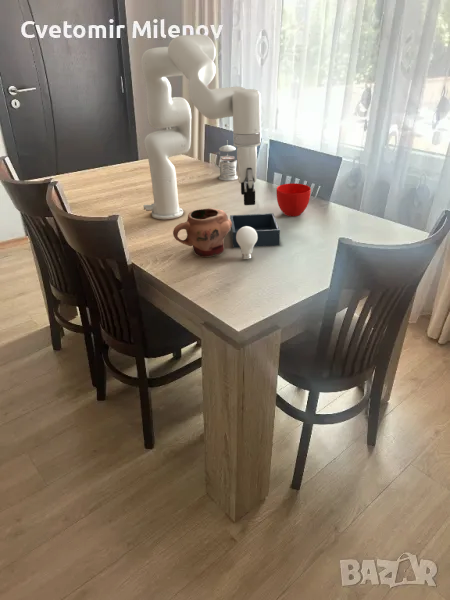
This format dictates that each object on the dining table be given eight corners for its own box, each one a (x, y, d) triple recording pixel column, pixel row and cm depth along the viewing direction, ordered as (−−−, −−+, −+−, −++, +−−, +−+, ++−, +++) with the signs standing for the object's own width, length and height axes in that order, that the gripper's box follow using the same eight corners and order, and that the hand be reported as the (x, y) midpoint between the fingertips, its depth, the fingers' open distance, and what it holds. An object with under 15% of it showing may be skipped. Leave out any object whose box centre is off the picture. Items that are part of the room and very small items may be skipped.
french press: (238, 180, 214) (237, 125, 201) (214, 180, 214) (211, 126, 201) (238, 174, 222) (237, 121, 209) (215, 175, 223) (212, 122, 209)
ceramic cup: (313, 205, 180) (315, 181, 175) (305, 220, 167) (307, 195, 161) (282, 203, 184) (283, 179, 179) (272, 217, 170) (272, 192, 165)
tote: (233, 247, 148) (232, 232, 146) (230, 229, 162) (230, 215, 159) (279, 245, 149) (280, 230, 146) (273, 227, 162) (273, 213, 159)
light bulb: (235, 255, 143) (234, 223, 138) (255, 254, 144) (255, 222, 138) (237, 264, 138) (236, 232, 132) (258, 263, 138) (259, 230, 132)
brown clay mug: (186, 268, 137) (182, 226, 130) (168, 254, 146) (164, 214, 138) (240, 252, 146) (239, 211, 138) (220, 239, 155) (219, 201, 147)
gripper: (231, 133, 130) (233, 191, 138) (235, 146, 115) (237, 210, 124) (257, 132, 130) (257, 189, 139) (264, 145, 115) (264, 208, 124)
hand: (247, 199), depth 131 cm, fingers open, 9 cm apart
